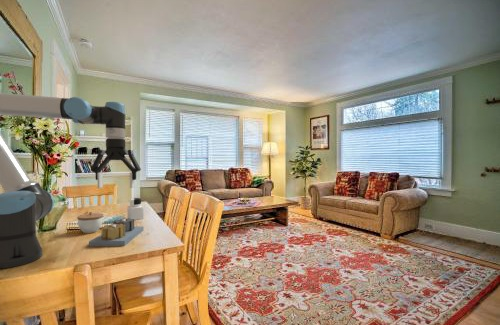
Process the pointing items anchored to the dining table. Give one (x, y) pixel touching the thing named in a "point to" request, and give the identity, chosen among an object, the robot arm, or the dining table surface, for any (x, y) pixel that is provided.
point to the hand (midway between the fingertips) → (116, 187)
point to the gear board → (119, 241)
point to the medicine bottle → (135, 209)
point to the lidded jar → (90, 222)
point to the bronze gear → (112, 231)
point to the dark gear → (126, 223)
